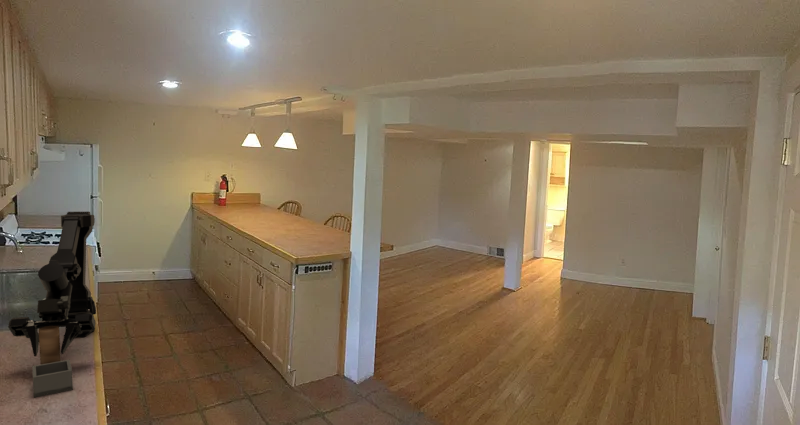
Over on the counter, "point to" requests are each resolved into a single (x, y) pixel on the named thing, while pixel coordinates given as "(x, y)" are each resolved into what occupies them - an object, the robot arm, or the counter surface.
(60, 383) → the socket cup
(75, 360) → the counter surface
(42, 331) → the walnut peg
